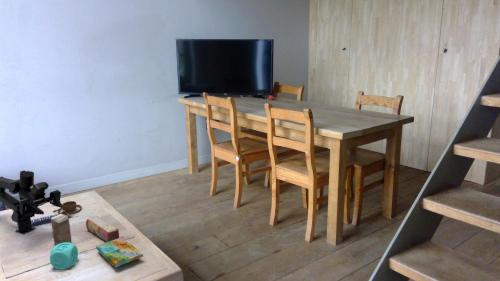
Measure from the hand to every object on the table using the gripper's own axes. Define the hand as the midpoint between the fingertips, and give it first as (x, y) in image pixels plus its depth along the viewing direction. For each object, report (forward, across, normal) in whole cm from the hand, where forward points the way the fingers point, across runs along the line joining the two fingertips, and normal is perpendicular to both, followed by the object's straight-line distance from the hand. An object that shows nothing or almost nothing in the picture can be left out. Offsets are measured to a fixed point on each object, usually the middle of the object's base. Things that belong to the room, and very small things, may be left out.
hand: (53, 209), depth 177 cm
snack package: (+17, +15, +11) cm, 26 cm away
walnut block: (+10, 0, +14) cm, 17 cm away
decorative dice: (+23, -10, +11) cm, 28 cm away
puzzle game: (+38, +4, +6) cm, 39 cm away
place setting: (-18, +23, +22) cm, 37 cm away
